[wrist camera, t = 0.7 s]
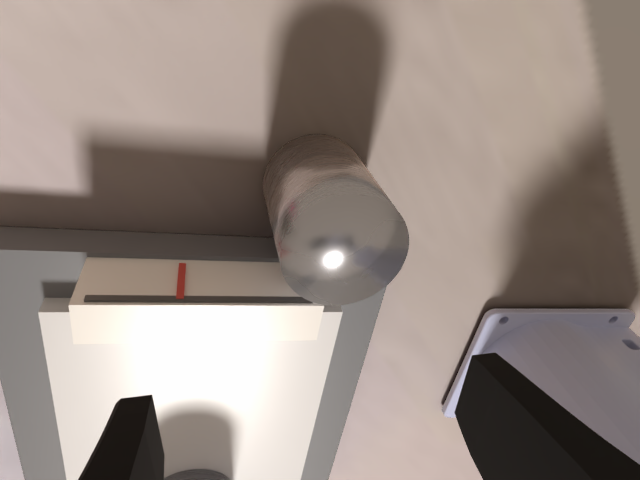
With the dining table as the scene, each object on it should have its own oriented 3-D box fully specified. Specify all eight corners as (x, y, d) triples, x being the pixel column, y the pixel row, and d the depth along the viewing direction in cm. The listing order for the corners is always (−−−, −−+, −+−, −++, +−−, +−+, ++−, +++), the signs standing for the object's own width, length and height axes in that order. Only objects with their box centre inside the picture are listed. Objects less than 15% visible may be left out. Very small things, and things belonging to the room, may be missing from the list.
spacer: (373, 140, 18) (424, 198, 14) (351, 230, 20) (390, 305, 16) (269, 128, 17) (290, 189, 12) (257, 225, 19) (272, 305, 14)
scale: (382, 242, 20) (417, 301, 17) (317, 475, 29) (332, 546, 25) (-14, 225, 16) (-72, 299, 13) (45, 501, 25) (20, 589, 21)
